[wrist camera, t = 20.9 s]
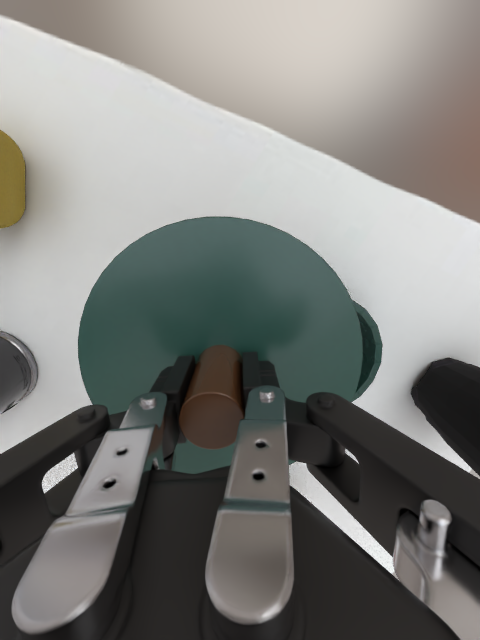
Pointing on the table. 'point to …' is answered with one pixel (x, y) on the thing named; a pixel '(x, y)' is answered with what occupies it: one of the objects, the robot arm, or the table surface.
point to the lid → (217, 325)
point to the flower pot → (11, 182)
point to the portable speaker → (453, 406)
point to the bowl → (368, 350)
